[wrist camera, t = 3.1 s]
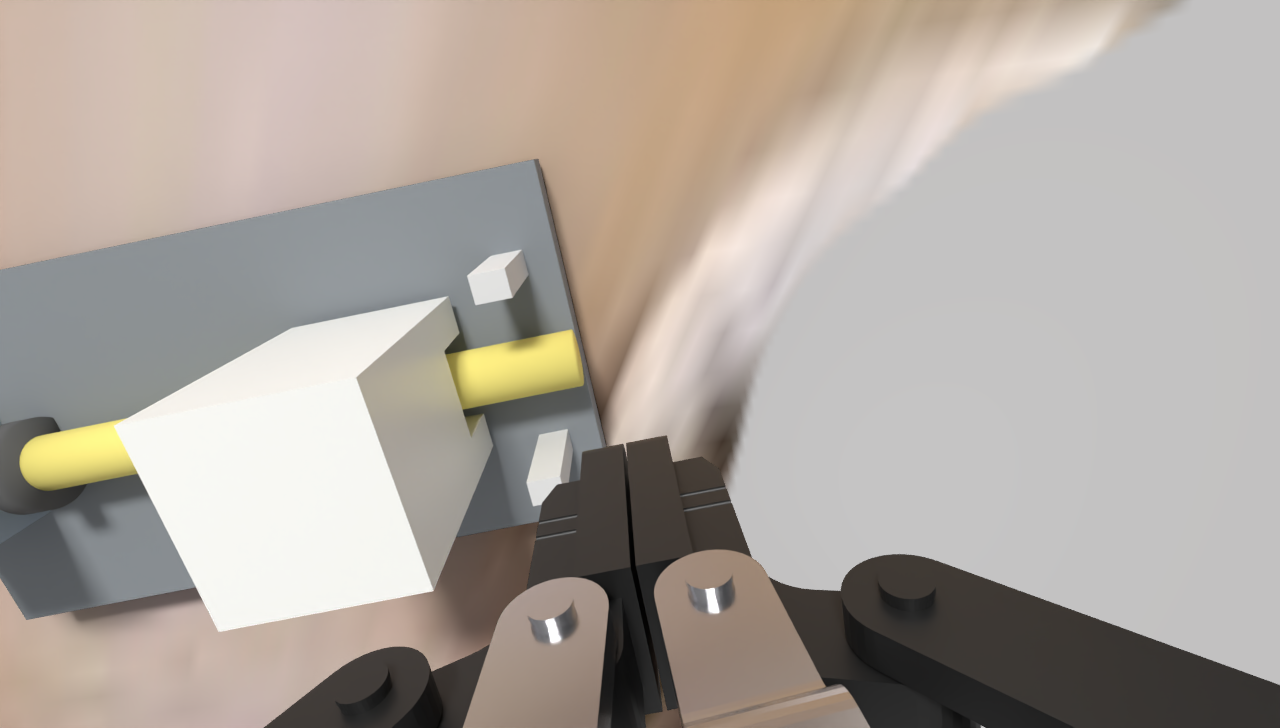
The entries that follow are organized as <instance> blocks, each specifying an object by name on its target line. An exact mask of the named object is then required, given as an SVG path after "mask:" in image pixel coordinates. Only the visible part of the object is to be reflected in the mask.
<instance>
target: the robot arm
mask: <svg viewBox="0 0 1280 728" xmlns="http://www.w3.org/2000/svg"><path fill="white" fill-rule="evenodd" d="M626 447H627V456H626V452H625V448H624V445H623V444H620V445H614V446H609V447H604V448H599V449H593V450H588V451H583V452H582V459H581V473H580V480H578V481H573V482H568V483H562V484H557V485H556V486H555V487H554V489H553V490H552V491H551V492H550V494H549V495H548V496H547V497H546V498H545V500H544V501H543V502H542V506H541V511H540V517H539V525H538V528H537V534H536V541H535V545H534V551H533V556H532V562H531V567H530V573H529V579H528V584H527V590H526V591H524V592H523V593H521V594H520V595H518V596H517V597H516V598H515V599H514V600H513V601H511V602H510V603H509V605H508V606H507V607H506V608H505V609H504V611H503V612H502V614H501V615H500V617H499V620H498V622H497V625H496V628H495V631H494V634H493V637H492V640H491V643H490V645H488V646H486V647H485V648H483V649H481V650H479V651H477V652H475V653H473V654H471V655H469V656H467V657H465V658H462V659H460V660H458V661H455V662H453V663H451V664H448V665H446V666H444V667H442V668H439V669H437V670H435V671H432V672H431V669H430V666H429V663H428V661H427V659H426V657H425V656H424V655H423V654H422V653H421V652H419V651H418V650H415V649H413V648H409V647H390V648H384V649H380V650H376V651H373V652H370V653H368V654H365V655H363V656H361V657H359V658H357V659H355V660H353V661H351V662H349V663H348V664H346V665H344V666H343V667H341V668H340V669H339V670H337V671H336V672H334V673H333V674H332V675H330V676H329V677H328V678H327V679H325V680H324V681H323V682H322V683H320V684H319V685H318V686H316V687H315V688H314V689H313V690H311V691H310V692H309V693H307V694H306V695H305V696H304V697H302V698H301V699H300V700H299V701H297V702H296V703H295V704H293V705H292V706H291V707H290V708H288V709H287V710H286V711H285V712H283V713H282V714H281V715H279V716H278V717H277V718H276V719H274V720H273V721H272V722H270V723H269V724H268V725H267V726H265V727H264V728H646V724H645V715H646V714H651V713H657V712H662V701H661V692H660V682H659V674H660V678H661V683H662V688H663V692H664V697H665V701H666V706H667V710H671V709H676V708H678V710H679V715H680V720H681V725H682V728H981V725H982V726H984V727H985V728H1280V685H1277V684H1275V683H1272V682H1270V681H1267V680H1264V679H1261V678H1258V677H1256V676H1253V675H1250V674H1247V673H1245V672H1242V671H1239V670H1237V669H1234V668H1231V667H1228V666H1225V665H1222V664H1220V663H1217V662H1214V661H1212V660H1209V659H1206V658H1203V657H1201V656H1198V655H1195V654H1192V653H1190V652H1187V651H1184V650H1181V649H1179V648H1176V647H1173V646H1170V645H1167V644H1165V643H1162V642H1159V641H1156V640H1154V639H1151V638H1148V637H1145V636H1142V635H1140V634H1137V633H1134V632H1132V631H1129V630H1126V629H1123V628H1121V627H1118V626H1115V625H1112V624H1110V623H1107V622H1104V621H1101V620H1098V619H1096V618H1093V617H1090V616H1087V615H1085V614H1082V613H1079V612H1076V611H1074V610H1071V609H1068V608H1065V607H1062V606H1060V605H1057V604H1054V603H1051V602H1049V601H1046V600H1043V599H1040V598H1038V597H1035V596H1032V595H1029V594H1027V593H1024V592H1021V591H1018V590H1015V589H1013V588H1010V587H1007V586H1005V585H1002V584H999V583H996V582H994V581H991V580H988V579H985V578H983V577H980V576H977V575H974V574H971V573H969V572H966V571H963V570H960V569H958V568H955V567H952V566H949V565H947V564H943V563H941V562H938V561H935V560H932V559H929V558H925V557H920V556H915V555H905V554H897V555H896V554H893V555H884V556H879V557H875V558H871V559H868V560H866V561H863V562H862V563H860V564H858V565H856V566H855V567H854V568H852V569H851V570H850V571H849V572H848V574H847V575H846V576H845V578H844V580H843V582H842V586H841V591H828V590H809V589H801V588H796V587H792V586H788V585H785V584H782V583H780V582H778V581H775V580H773V579H772V578H770V577H768V575H767V573H766V572H765V570H764V568H763V567H762V566H761V565H760V564H759V563H758V562H757V561H756V560H754V559H753V558H752V557H751V554H750V551H749V548H748V546H747V543H746V541H745V538H744V535H743V532H742V529H741V527H740V524H739V521H738V519H737V516H736V513H735V510H734V508H733V505H732V503H731V500H730V497H729V494H728V491H727V489H726V487H725V483H724V481H723V478H722V475H721V473H720V470H719V468H717V467H716V466H714V465H713V464H712V463H710V462H709V461H707V460H706V459H704V458H703V457H698V458H693V459H688V460H682V461H677V462H673V461H672V457H671V452H670V448H669V444H668V439H667V435H666V436H661V437H656V438H650V439H645V440H640V441H635V442H629V443H626ZM627 459H628V461H627ZM658 669H659V673H658Z"/></svg>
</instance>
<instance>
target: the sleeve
mask: <svg viewBox="0 0 1280 728" xmlns="http://www.w3.org/2000/svg"><path fill="white" fill-rule="evenodd" d="M458 334H459V330H458V326H457V323H456V319H455V316H454V313H453V309H452V306H451V303H450V299H449V296H447V297H442V298H437V299H432V300H427V301H422V302H418V303H413V304H408V305H403V306H398V307H393V308H388V309H383V310H378V311H373V312H368V313H363V314H358V315H353V316H348V317H343V318H338V319H333V320H328V321H324V322H319V323H314V324H309V325H304V326H299V327H294V328H291V329H289V330H287V331H285V332H284V333H282V334H280V335H278V336H276V337H274V338H273V339H271V340H269V341H267V342H265V343H263V344H262V345H260V346H258V347H256V348H254V349H253V350H251V351H249V352H247V353H245V354H243V355H242V356H240V357H238V358H236V359H234V360H233V361H231V362H229V363H227V364H225V365H223V366H222V367H220V368H218V369H216V370H214V371H213V372H211V373H209V374H207V375H205V376H203V377H202V378H200V379H198V380H196V381H194V382H192V383H191V384H189V385H187V386H185V387H183V388H182V389H180V390H178V391H176V392H174V393H172V394H171V395H169V396H167V397H165V398H163V399H162V400H160V401H158V402H156V403H154V404H152V405H151V406H149V407H147V408H145V409H143V410H142V411H140V412H138V413H136V414H134V415H132V416H131V417H129V418H127V419H125V420H123V421H121V422H120V423H118V424H116V425H114V427H115V429H116V431H117V433H118V435H119V437H120V439H121V441H122V443H123V445H124V447H125V449H126V451H127V453H128V455H129V457H130V459H131V461H132V463H133V465H134V467H135V469H136V471H137V473H138V474H139V476H140V478H141V480H142V482H143V484H144V486H145V488H146V490H147V492H148V494H149V496H150V498H151V500H152V502H153V504H154V506H155V508H156V510H157V512H158V514H159V516H160V518H161V520H162V522H163V523H164V525H165V527H166V529H167V531H168V533H169V535H170V537H171V539H172V541H173V543H174V545H175V547H176V549H177V551H178V553H179V555H180V557H181V559H182V561H183V563H184V565H185V567H186V569H187V571H188V573H189V574H190V576H191V578H192V580H193V582H194V584H195V586H196V588H197V590H198V592H199V594H200V596H201V598H202V600H203V602H204V604H205V606H206V608H207V610H208V612H209V614H210V616H211V618H212V620H213V622H214V624H215V625H216V627H217V629H218V631H219V632H221V631H226V630H231V629H237V628H242V627H247V626H252V625H258V624H263V623H268V622H273V621H279V620H284V619H289V618H294V617H300V616H305V615H310V614H315V613H321V612H326V611H331V610H337V609H342V608H347V607H352V606H358V605H363V604H368V603H373V602H379V601H384V600H389V599H394V598H400V597H405V596H410V595H415V594H421V593H426V592H431V591H434V589H435V587H436V584H437V582H438V579H439V577H440V574H441V572H442V569H443V567H444V565H445V562H446V560H447V557H448V555H449V552H450V550H451V548H452V545H453V543H454V540H455V538H456V535H457V533H458V531H459V528H460V526H461V523H462V521H463V518H464V516H465V513H466V511H467V509H468V506H469V504H470V501H471V499H472V496H473V494H474V492H475V489H476V487H477V484H478V482H479V479H480V477H481V474H482V472H483V470H484V467H485V465H486V462H487V460H488V457H489V455H490V453H491V450H492V448H493V443H492V440H491V436H490V433H489V430H488V426H487V423H486V420H485V416H484V413H483V414H478V415H472V416H467V417H465V416H464V413H463V410H462V407H461V403H460V400H459V397H458V394H457V391H456V387H455V384H454V381H453V378H452V375H451V371H450V368H449V365H448V362H447V358H446V355H445V352H444V351H445V349H446V348H447V347H448V346H449V345H450V344H451V342H452V341H453V340H454V339H455V338H456V336H457V335H458Z"/></svg>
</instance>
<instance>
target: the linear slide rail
mask: <svg viewBox="0 0 1280 728" xmlns="http://www.w3.org/2000/svg"><path fill="white" fill-rule="evenodd" d="M447 296H449V299H450V303H451V306H452V309H453V313H454V316H455V319H456V323H457V326H458V330H459V334H458V335H457V336H456V338H455V339H454V340H453V341H452V342H451V344H450V345H449V346H448V347H447V348H446V349H445V351H444V352H445V355H446V358H447V362H448V365H449V368H450V371H451V375H452V378H453V381H454V384H455V387H456V391H457V394H458V397H459V400H460V403H461V407H462V410H463V413H464V416H465V417H467V416H472V415H478V414H483V413H484V416H485V420H486V423H487V426H488V430H489V433H490V436H491V440H492V443H493V448H492V450H491V453H490V455H489V457H488V460H487V462H486V465H485V467H484V470H483V472H482V474H481V477H480V479H479V482H478V484H477V487H476V489H475V492H474V494H473V496H472V499H471V501H470V504H469V506H468V509H467V511H466V513H465V516H464V518H463V521H462V523H461V526H460V528H459V531H458V533H457V535H456V537H461V536H466V535H471V534H476V533H481V532H487V531H492V530H497V529H502V528H507V527H513V526H518V525H523V524H528V523H534V522H539V517H540V511H541V506H542V502H543V501H544V500H545V498H546V497H547V496H548V495H549V494H550V492H551V491H552V490H553V489H554V487H555V486H556V485H557V484H562V483H568V482H573V481H578V480H580V473H581V459H582V452H583V451H588V450H593V449H599V448H604V447H606V444H605V439H604V435H603V431H602V427H601V422H600V418H599V414H598V410H597V405H596V401H595V397H594V393H593V389H592V384H591V380H590V376H589V372H588V367H587V363H586V359H585V355H584V350H583V346H582V342H581V338H580V333H579V329H578V325H577V321H576V316H575V312H574V308H573V304H572V299H571V295H570V291H569V287H568V282H567V278H566V274H565V270H564V265H563V261H562V257H561V253H560V248H559V244H558V240H557V236H556V232H555V227H554V223H553V219H552V215H551V210H550V206H549V202H548V198H547V193H546V189H545V185H544V181H543V176H542V172H541V168H540V164H539V159H534V160H529V161H524V162H519V163H515V164H510V165H505V166H500V167H495V168H490V169H486V170H481V171H476V172H471V173H466V174H461V175H457V176H452V177H447V178H442V179H437V180H432V181H428V182H423V183H418V184H413V185H408V186H404V187H399V188H394V189H389V190H384V191H379V192H375V193H370V194H365V195H360V196H355V197H350V198H346V199H341V200H336V201H331V202H326V203H321V204H317V205H312V206H307V207H302V208H297V209H292V210H288V211H283V212H278V213H273V214H268V215H263V216H259V217H254V218H249V219H244V220H239V221H234V222H230V223H225V224H220V225H215V226H210V227H206V228H201V229H196V230H191V231H186V232H181V233H177V234H172V235H167V236H162V237H157V238H152V239H148V240H143V241H138V242H133V243H128V244H123V245H119V246H114V247H109V248H104V249H99V250H94V251H90V252H85V253H80V254H75V255H70V256H65V257H61V258H56V259H51V260H46V261H41V262H36V263H32V264H27V265H22V266H17V267H12V268H8V269H3V270H0V578H1V580H2V582H3V583H4V585H5V586H6V588H7V590H8V591H9V593H10V594H11V596H12V598H13V599H14V601H15V602H16V604H17V606H18V607H19V609H20V610H21V612H22V614H23V615H24V617H25V618H26V620H28V619H34V618H39V617H44V616H49V615H54V614H60V613H65V612H70V611H75V610H81V609H86V608H91V607H96V606H101V605H107V604H112V603H117V602H122V601H127V600H133V599H138V598H143V597H148V596H153V595H159V594H164V593H169V592H174V591H179V590H185V589H190V588H195V587H196V586H195V584H194V582H193V580H192V578H191V576H190V574H189V573H188V571H187V569H186V567H185V565H184V563H183V561H182V559H181V557H180V555H179V553H178V551H177V549H176V547H175V545H174V543H173V541H172V539H171V537H170V535H169V533H168V531H167V529H166V527H165V525H164V523H163V522H162V520H161V518H160V516H159V514H158V512H157V510H156V508H155V506H154V504H153V502H152V500H151V498H150V496H149V494H148V492H147V490H146V488H145V486H144V484H143V482H142V480H141V478H140V476H139V474H138V473H137V471H136V469H135V467H134V465H133V463H132V461H131V459H130V457H129V455H128V453H127V451H126V449H125V447H124V445H123V443H122V441H121V439H120V437H119V435H118V433H117V431H116V429H115V427H114V425H116V424H118V423H120V422H121V421H123V420H125V419H127V418H129V417H131V416H132V415H134V414H136V413H138V412H140V411H142V410H143V409H145V408H147V407H149V406H151V405H152V404H154V403H156V402H158V401H160V400H162V399H163V398H165V397H167V396H169V395H171V394H172V393H174V392H176V391H178V390H180V389H182V388H183V387H185V386H187V385H189V384H191V383H192V382H194V381H196V380H198V379H200V378H202V377H203V376H205V375H207V374H209V373H211V372H213V371H214V370H216V369H218V368H220V367H222V366H223V365H225V364H227V363H229V362H231V361H233V360H234V359H236V358H238V357H240V356H242V355H243V354H245V353H247V352H249V351H251V350H253V349H254V348H256V347H258V346H260V345H262V344H263V343H265V342H267V341H269V340H271V339H273V338H274V337H276V336H278V335H280V334H282V333H284V332H285V331H287V330H289V329H291V328H294V327H299V326H304V325H309V324H314V323H319V322H324V321H328V320H333V319H338V318H343V317H348V316H353V315H358V314H363V313H368V312H373V311H378V310H383V309H388V308H393V307H398V306H403V305H408V304H413V303H418V302H422V301H427V300H432V299H437V298H442V297H447Z"/></svg>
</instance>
